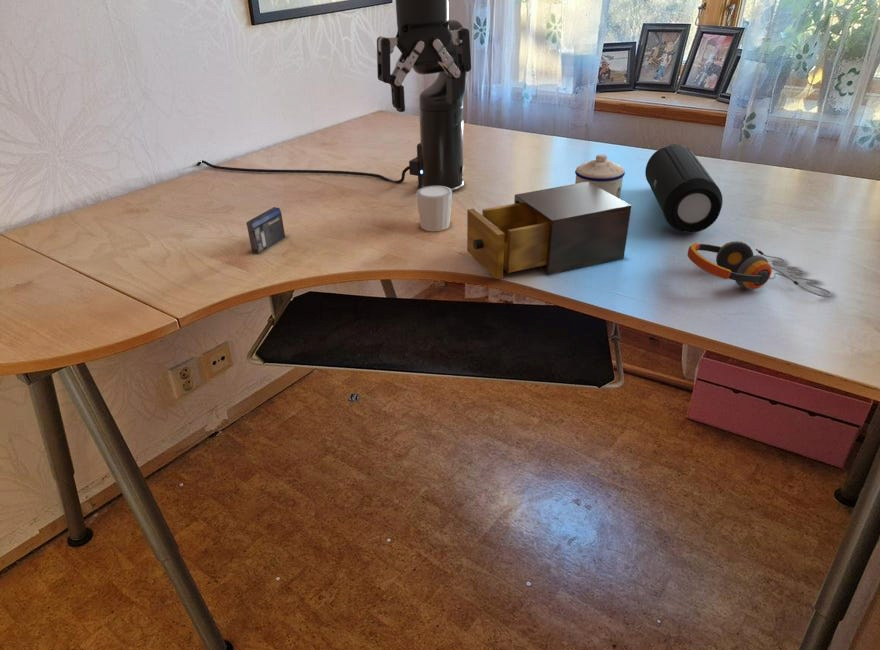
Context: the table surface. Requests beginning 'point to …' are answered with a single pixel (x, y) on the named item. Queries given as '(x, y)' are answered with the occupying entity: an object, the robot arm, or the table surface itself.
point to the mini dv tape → (265, 230)
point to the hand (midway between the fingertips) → (426, 107)
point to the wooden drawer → (507, 238)
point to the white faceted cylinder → (434, 207)
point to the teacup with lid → (601, 174)
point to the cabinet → (580, 225)
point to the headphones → (743, 265)
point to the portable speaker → (683, 189)
